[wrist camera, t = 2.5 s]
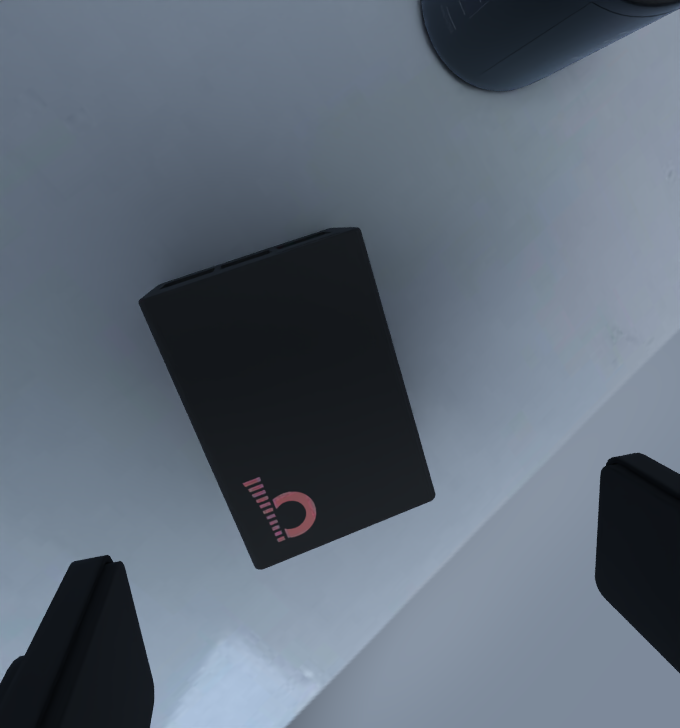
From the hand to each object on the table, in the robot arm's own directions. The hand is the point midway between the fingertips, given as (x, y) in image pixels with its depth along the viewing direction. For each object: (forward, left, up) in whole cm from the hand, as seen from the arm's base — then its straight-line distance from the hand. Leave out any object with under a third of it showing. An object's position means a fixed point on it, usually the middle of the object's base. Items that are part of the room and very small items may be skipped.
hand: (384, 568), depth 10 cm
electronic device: (0, 0, -14) cm, 14 cm away
